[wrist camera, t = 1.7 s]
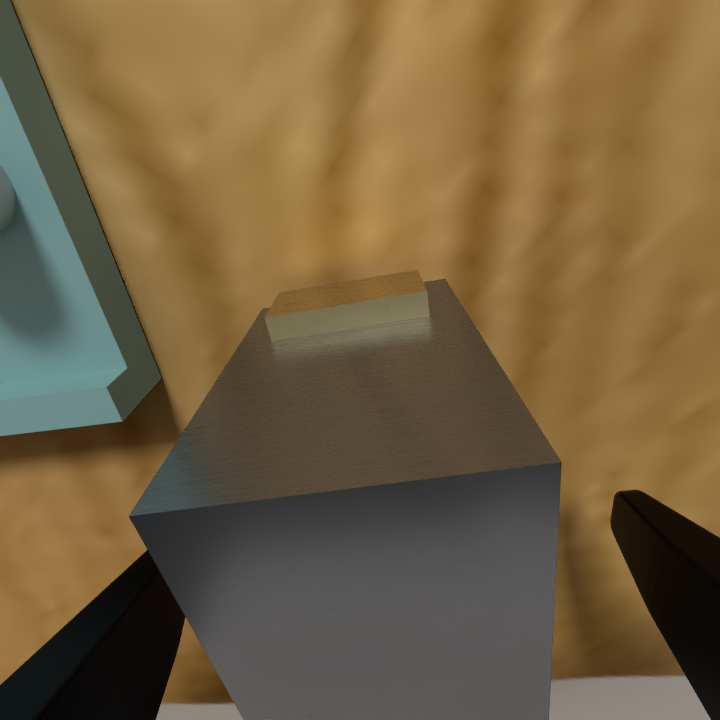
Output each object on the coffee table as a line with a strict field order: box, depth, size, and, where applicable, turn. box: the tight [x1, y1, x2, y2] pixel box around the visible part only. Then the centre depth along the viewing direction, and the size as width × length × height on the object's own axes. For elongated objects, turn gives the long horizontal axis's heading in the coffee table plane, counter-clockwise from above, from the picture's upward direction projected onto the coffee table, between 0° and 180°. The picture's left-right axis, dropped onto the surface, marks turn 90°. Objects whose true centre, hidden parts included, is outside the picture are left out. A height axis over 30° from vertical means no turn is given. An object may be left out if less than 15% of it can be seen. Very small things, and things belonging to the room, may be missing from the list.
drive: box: [129, 270, 561, 720], centre depth 8 cm, size 4×9×6 cm, turn 10°
